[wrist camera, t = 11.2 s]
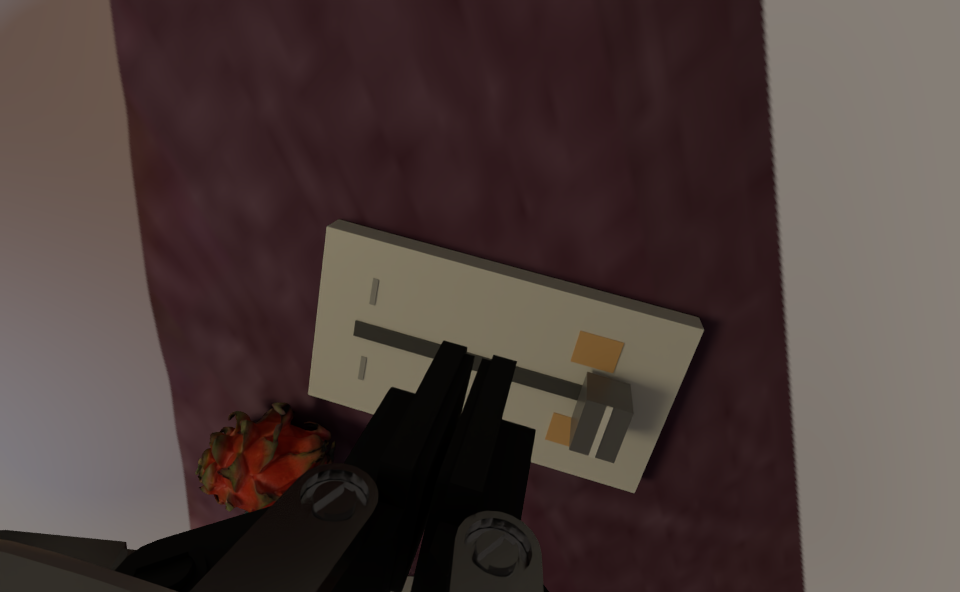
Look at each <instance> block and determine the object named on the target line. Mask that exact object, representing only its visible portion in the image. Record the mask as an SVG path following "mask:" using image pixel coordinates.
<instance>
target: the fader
mask: <svg viewBox="0 0 960 592" xmlns="http://www.w3.org/2000/svg"><path fill="white" fill-rule="evenodd" d="M633 414H634V411H633V402H632V393H631V384H629V383H625V382H622V381H618V380H615V379H611V378H608V377H604V376H601V375H597V374H594V373H590V372H587V374H586V377H585V380H584V383H583V386H582V388H581V391H580V394H579V397H578V400H577V403H576V406H575V409H574V412H573V415H572V418H571V427H570V442H569V450H571V451H574V452H578V453H581V454H584V455H588V457H591V458H598V459H601V460H604V461H608V462H611V463H614V462H615V460H616V457H617V455H618V452H619V450H620V447H621V444H622V442H623V439H624V437H625V434H626V432H627V429H628V427H629V424H630V422H631V419H632V417H633Z"/></svg>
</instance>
